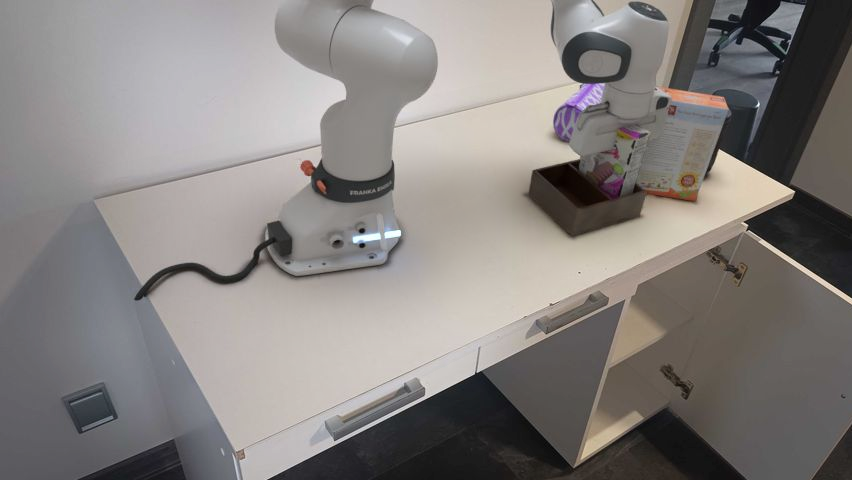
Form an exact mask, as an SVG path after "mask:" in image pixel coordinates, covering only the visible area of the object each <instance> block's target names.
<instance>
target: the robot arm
mask: <svg viewBox="0 0 852 480" xmlns="http://www.w3.org/2000/svg"><path fill="white" fill-rule="evenodd" d="M374 1H375V0H283V1H281V3H280V5H279V6H278V8H277V11H276V14H275V17H274V18H275V19H274V35H275V39H276V42H277V44H278V46H279V48H280V49H281V50H282V51H283V53H285V54H286V55H288V56H289V57H290V58H292V59H293V60H294V61H296V62H297V63H299V64H300V65H302V66H303V67H304V68H307V69H308V70H310V71H314V72H316V73H318V74H321V75H323V76H326V77H327V78H328V77H329V78H331V79H333V80H336V81H338V82H340V83H341V84H343V86H344V88H345V89H344V90H345V99H342V100H339V101H336V102H335V103H333V104H331V105H330V106H329V107H327V109H326V110H325V112H324V113H323V115H322V116H321V118H320V122H319V132H320V133H319V135H320V148H321V149H320V150H321V158H320V160H319V163H318V164H317V166H315V165H314V164H313V162H312V161H311V160H309V159H305V160H303V161H301V163H300V166H299V168H300V170H301V171H302V172H303V174H304V176H307V177H310V182H309V183H308V184H305V186H304V187H302V189H300V190H299V191H298V192H296V193H295V194H294V195H292V196H291V197H290V198H289V199H287V200H285V202H283V203H282V205H281V207H280V209H279V213H278V219H277V220H276V221H271V222H268V223H267V222H266V229H265V233H264V234H265V235H264V238H265V239H264V241H262V242H261V243H259V244H258V245H257V246H256V247H255V249H254V250H253V254H252V255H253V256H252V258H251V260H250V261H249V263H248V264H247V265H246V267H245V268H244V269H242V271H239V272H238V273H235V274H230V275H221V274H219V273H216V272H215V271H213V270H212V269H210V268H209V267H208V266H205V265H203V264H201V263H197V262H183V263H178V264H173V265H170V266H166V267H165V268H162V269H161V270H159V271H157V272H155V273H154V274H153V275H152V276H151V277H150V278H149V279H148V280H147V281H146V282H145V283H144V284H143V285H142V286H141V288H140V289H139V290H138V292H137V293H136V295H135V296H134V298H133V299H134V301H136V302H137V301H142V299H143V298H144V297H145V296H146V294H147V292H149V290H150V289H151V288H152V287H153V286H154V284H156V283H157V282H158V281H159V280H160V279H162V278H163V277H165V276H166V275H168V274H171V273H174V272H177V271H182V270H188V269H192V270H198V271H199V272H201V273H203V274H205V276H208V277H209V278H211V279H213V280H215V281H217V282H218V281H219V282H225V283H228V282H235V281H238V280H241V279H244V278H245V277H247V276H248V275H249V273H251V271H252V270H253V269H254V268H255V266H256V265H257V264H258V262H259V260H260V257H261V252H262V251H264V249H266V250H267V252H268V253H269V255H270V257H271V258H272V260H273V261H274V263H275V264H276V265H277V266H278V267H279V268H280V269H281V270H283V271H284V272H286V273H288V274H289V275H292V276H295V277H301V276H310V275H317V274H324V273H331V272H338V271H344V270H351V269H352V270H353V269H359V268H366V267H373V266H380V265H384V264H385V263H386V262H387V260H388V257H389V253H390V251H391V250H392V249H393V248H395V246H396V245H397V243H398V242H399V240H400V237H401V235H402V232H401V229H400V227H399V224H398V222H397V221H398V220H397V217H396V213H395V206H394V198H393V197H394V196H393V191H394V190H395V180H396V179H395V178H396V175H395V162H394V160H393V145H394V133H395V125H396V122H397V119H398V116H399V114H400V113H401V111H402V110H403V109H404V107H405V106H407V105H408V104H410V103H412V102H415V101H417V100H418V99H420V98H422V96H424V95H425V94H426V93H427V92H428V91H429V90H430V88H431V87H432V85H433V83H434V81H435V79H436V77H437V73H438V67H439V57H438V52H437V48H436V45H435V41H434V40H433V39H432V37H431V36H429V35H428V34H427V33H426V32H424V31H422V30H421V29H419V28H417V27H416V26H414V25H413V24H411V23H410V22H409V21H406V20H405V19H403V18H399V17H397V16H393V15H391V14H387V13H385V12H382V11H379V10H377V9H374V8H372V6H373V4H374ZM550 1H551V5H552V11H551V12H552V13H551V20H550V22H551V23H550V37H551V40H552V42H553V44H554V46H555V48H556V51H557V54H558V57H559V60H560V63H561V66H562V69H563V71H564V73H565V74H566V75H567V77H568V78H570V79H571V80H572V81H574V82H576V83H579V84H599V83H605V84H604V89H603V93H602V98H601V103H599V104H596V105H589V106H587V107H586V109H584V110H583V111H582V112H580V114H579V116H578V118H577V121H576V123H575V126H574V129H573V132H572V135H571V139H570V141H569V147H570V148H571V150H572V151H573V152H574V153H575V154H577V155H578V156H579V157H580V156H582V157H583V156H585V158H586V160H587V163H586V169H587V170H588V171H589V172H593V171H596V170H597V169H598V168H597V167H598V164H599V163H598V162H596V161H595V160H594V157H596V156H597V153H599V152H603V151H607V150H611V149H613V147H614V144H615V140H616V136H617V132H618V131H617V129H619V128H622V127H626V126H631V125H638V126H640V127H642V128H644V129H645V130H647V131H649V132H650V136H649V140H652V139H656V138H658V137H659V136H660V135H661V133H662V132H663V129H664V126H665V123H666V119H667V115H668V109H667V108H668V107H669V106H670V104H671V101H672V97H671V96H669V95H668V94H667V93H665V92H664V91H662V90H661V89H659V88H658V87H659V86H657V87H656V85H657V74H658V72H659V70H660V68H661V67H662V65H663V60H664V57H665V52H666V48H667V43H668V38H669V37H668V36H669V30H670V29H669V28H670V26H669V25H670V23H669V20H668V18H667V17H666V15H665V14H664V13H663V12H662V11H661V10H660V8H657V7H655V6H654V5H652V4H649V3H647V2H643V1H629V2H628V3H626V4H625V5H624V6H623V7H621V8H619V9H618V10H616V11H614V12H612V13H609V14H607V15H605V14H604V12H603V11H602V9H601V8H600V6H599V5H598V4H597V3H596V2H595V1H594V0H550Z"/></svg>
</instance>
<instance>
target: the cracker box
mask: <svg viewBox="0 0 852 480" xmlns="http://www.w3.org/2000/svg"><path fill="white" fill-rule="evenodd" d="M656 87H658V88H659V89H661V90H662V91H664V92H665V93H667V94H668V95H669V96H671V97H672V101H671V104H670V106H669V107H668V108H667V109H668V115H667V119H666V123H665V126H664V129H663V132H662V133H661V135H660V136H659V137H658V138H656V139H652V140H648V143H647V146H646V150H645V153H644V156H643V160H642V163H641V167H640V170H639V174H638V177H637V180H636V183H637V184H638V185H639V186H641V187H642V188H643V189H644V190H646V191H647V194H649V195H654V196H661V197H667V198H674V199H679V200H686V201H692V202H695V201H696V200H697V198H698V196H699V192H700V189H701V186H702V184H703V181H704V179H705V178H704V176H705V173H706V170H707V168H708V165H709V162H710V159H711V157H712V154H713V151H714V148H715V146H716V143H717V140H718V137H719V135H720V132H721V129H722V126H723V124H724V121H725V118H726V115H727V113H728V110H730V108H729V107H728V104H727V102H726V98H725V97H724V96H719V95H715V94H713V95H712V94H706V93H700V92H694V91H688V90H681V89H675V88H669V87H663V86H656ZM728 108H729V109H728ZM647 194H646V195H647Z"/></svg>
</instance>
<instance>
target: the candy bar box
mask: <svg viewBox="0 0 852 480" xmlns="http://www.w3.org/2000/svg"><path fill="white" fill-rule="evenodd" d="M617 131H618V132H617V136H616V140H615V144H614V147H613V149H611V150H607V151H603V152H599V153H597V156H596V157H594V160H595V161H596V162H598V163H599V164H598V167H597V168H598V169H597V170H596V171H593V172H589V171H588V170H587V169H586V163H587V160H586V158H585V156H583V157H582V156H580V155H579V159H580V160H579V165H578V170H579V171H580V172H581V173H582V174H584V175H585V176H586V177H587V178H588V179H590V180H591V181H592V182H593V183H594V184H595V185H597V186H598V187H599V188H600V189H601V190H603V191H604V192H605V193H606V194H607V195H609V196H610V197H611V198H612V199H615V198H618V197H622V196H626V195H629V194H632V193H633V190H634V187H635V183H636V180H637V177H638V174H639V170H640V167H641V163H642V160H643V156H644V153H645V150H646V146H647V143H648V140H649V136H650V132H649V131H647V130H645V129H644V128H642V127H640V126H638V125H631V126H626V127H622V128H619V129H617Z"/></svg>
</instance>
